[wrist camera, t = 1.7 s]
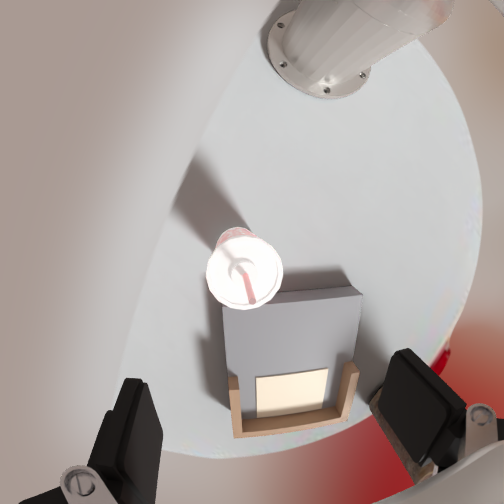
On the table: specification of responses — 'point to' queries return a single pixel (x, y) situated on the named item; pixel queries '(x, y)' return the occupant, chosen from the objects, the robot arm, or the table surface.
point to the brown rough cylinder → (400, 446)
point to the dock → (292, 361)
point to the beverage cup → (243, 270)
